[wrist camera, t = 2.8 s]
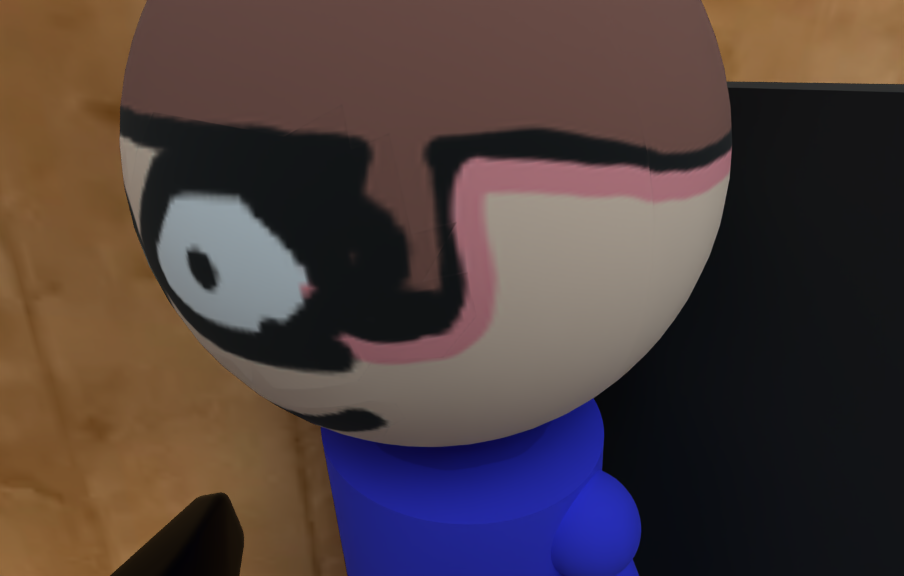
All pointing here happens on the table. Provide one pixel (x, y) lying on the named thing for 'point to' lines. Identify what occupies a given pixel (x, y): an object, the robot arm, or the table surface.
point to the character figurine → (538, 278)
